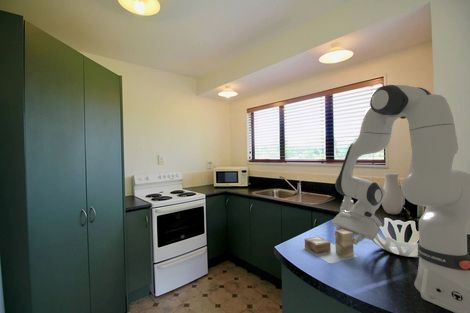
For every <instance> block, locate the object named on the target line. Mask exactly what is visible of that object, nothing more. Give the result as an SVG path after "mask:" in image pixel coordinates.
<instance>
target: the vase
mask: <svg viewBox="0 0 470 313" xmlns="http://www.w3.org/2000/svg"><path fill="white" fill-rule="evenodd" d="M398 178H399V174H398V173H397V172H396V173H395V172H394V173H393V172H386V173H384V184H383V187H382V188H383V189H384V190H385V196H384V198H383V201H382V203H381V206H382V208H383V210H384V211H385V213H387V214H389V215H398V214H400V213H401V211H402V210H403V207H404V196H403V194H402V191H401V186H400V184H399V183H400V182H399V179H398Z"/></svg>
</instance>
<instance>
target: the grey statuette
mask: <svg viewBox="0 0 470 313" xmlns="http://www.w3.org/2000/svg"><path fill="white" fill-rule="evenodd" d="M343 200H344V201H343ZM343 200H342V202H341V204H342V210H343V211H348V212H349V211H350V210H351V208H352V207H353V205H354V204H355V203H354V202H353V203H354V204H353V203H352V202H351V200H352V197H350V196H346V195H343Z"/></svg>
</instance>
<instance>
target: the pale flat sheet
mask: <svg viewBox="0 0 470 313" xmlns="http://www.w3.org/2000/svg"><path fill="white" fill-rule="evenodd" d="M302 248H303V249H304V250H306V251H308V252H309V253H311V254H312V255H315V256H316V257H318V258H320V259H322V261H325V262H326V263H329V264H335V263H339V262H342V261H346V260H351V259H355V258H358V257H360V256H359V255H357V254H355V253H354V256H350V257H346V258H344V257H343V256H341V255H339V254H337V253H336V246H335V243H332V242H330V248H331V251H328V252H324V253H319V254H316V253H314V252H312V251H310V250H309V249H307V248H305V245H304V246H302Z"/></svg>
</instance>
